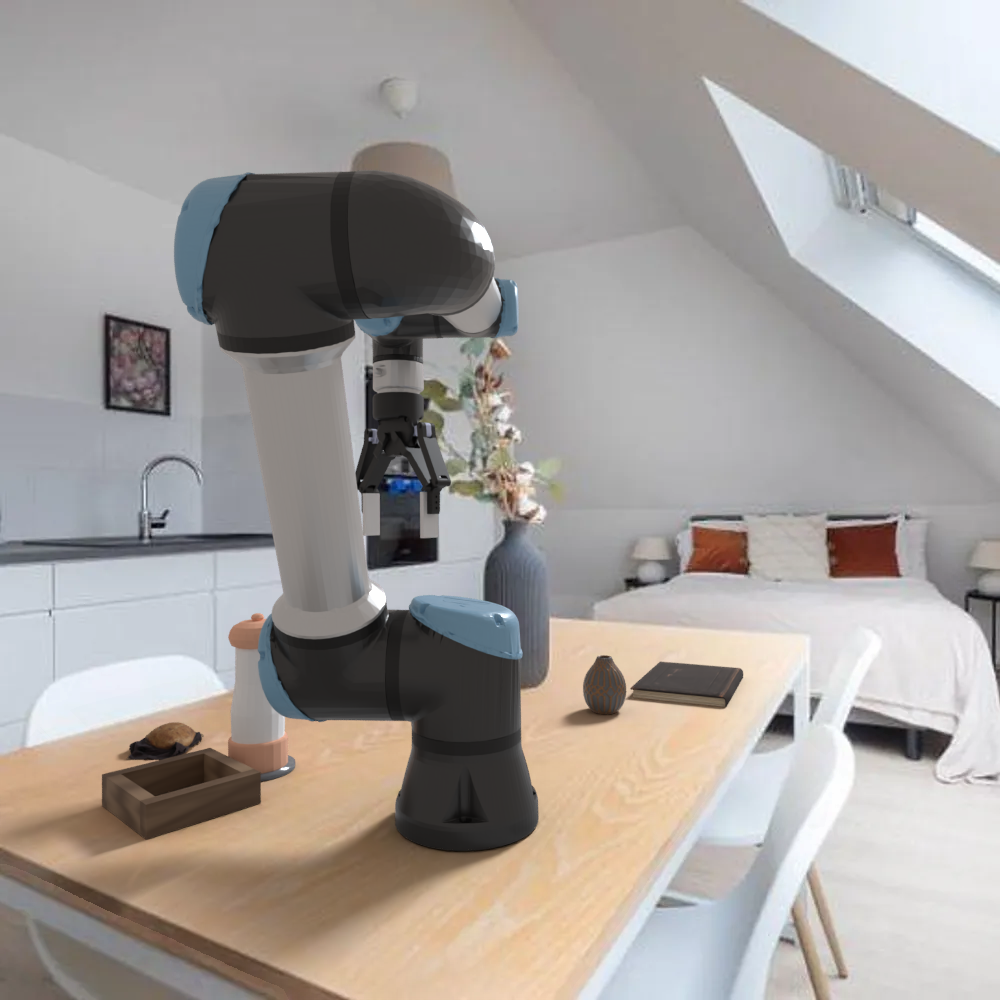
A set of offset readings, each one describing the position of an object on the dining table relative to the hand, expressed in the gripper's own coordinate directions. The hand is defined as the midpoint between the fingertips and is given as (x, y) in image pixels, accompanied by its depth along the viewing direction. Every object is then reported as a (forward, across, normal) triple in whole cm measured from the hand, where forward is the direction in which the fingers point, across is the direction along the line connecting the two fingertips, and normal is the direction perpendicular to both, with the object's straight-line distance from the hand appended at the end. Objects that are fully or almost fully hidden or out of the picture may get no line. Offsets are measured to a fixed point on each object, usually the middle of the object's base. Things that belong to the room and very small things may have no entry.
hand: (399, 536), depth 111 cm
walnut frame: (+29, +4, -34) cm, 45 cm away
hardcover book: (+29, +18, +52) cm, 63 cm away
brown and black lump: (+29, -18, -27) cm, 44 cm away
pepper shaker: (+28, 0, -22) cm, 36 cm away
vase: (+29, +16, +29) cm, 44 cm away
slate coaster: (+29, 0, -22) cm, 36 cm away
